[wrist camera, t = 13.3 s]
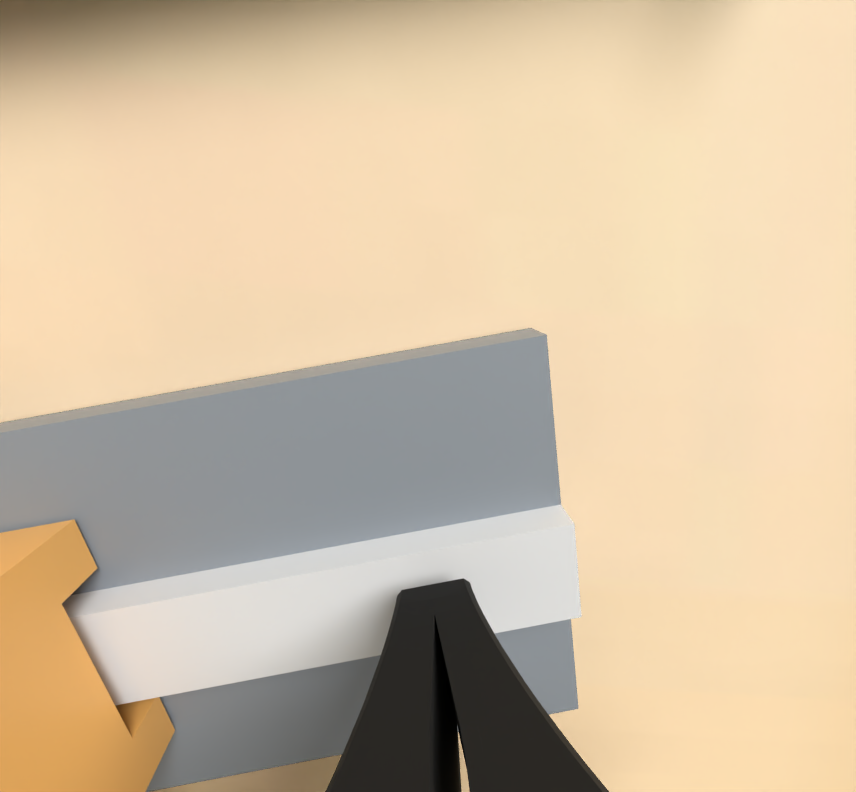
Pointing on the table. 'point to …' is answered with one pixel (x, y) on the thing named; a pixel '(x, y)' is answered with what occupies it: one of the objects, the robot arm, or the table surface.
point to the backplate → (304, 537)
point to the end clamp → (62, 680)
